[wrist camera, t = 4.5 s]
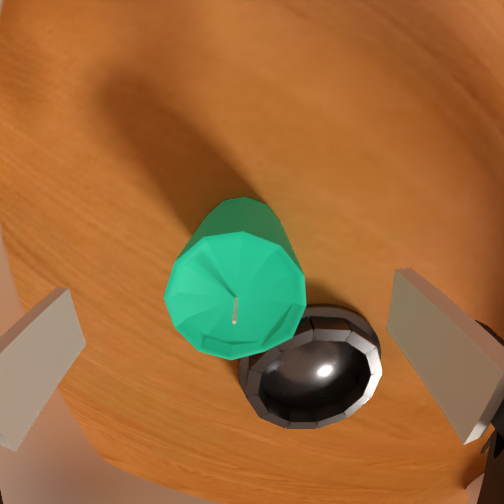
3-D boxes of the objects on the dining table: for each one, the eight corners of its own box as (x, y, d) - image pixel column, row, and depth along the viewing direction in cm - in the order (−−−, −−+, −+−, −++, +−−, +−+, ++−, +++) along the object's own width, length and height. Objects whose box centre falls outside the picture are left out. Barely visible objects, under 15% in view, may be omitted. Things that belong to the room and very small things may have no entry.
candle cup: (304, 273, 23) (310, 289, 21) (402, 346, 26) (414, 363, 23) (210, 378, 26) (207, 399, 24) (313, 427, 29) (317, 446, 26)
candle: (199, 271, 23) (158, 373, 12) (203, 192, 21) (153, 234, 10) (277, 279, 24) (299, 386, 12) (287, 201, 22) (329, 252, 10)
